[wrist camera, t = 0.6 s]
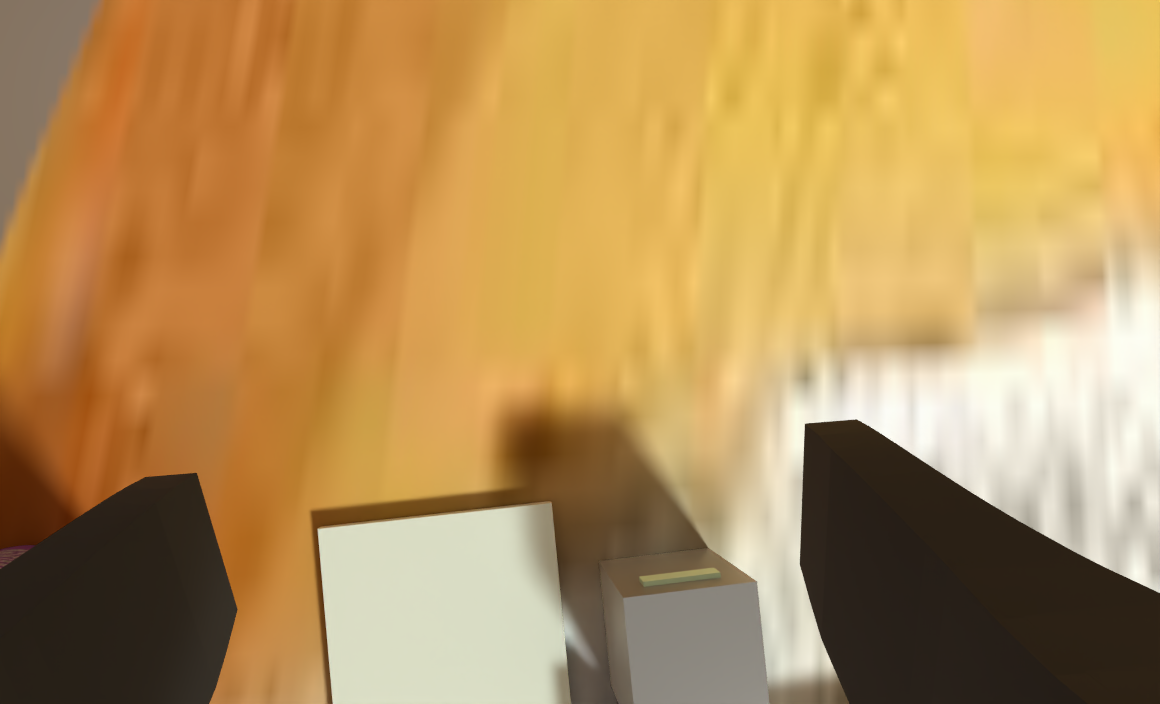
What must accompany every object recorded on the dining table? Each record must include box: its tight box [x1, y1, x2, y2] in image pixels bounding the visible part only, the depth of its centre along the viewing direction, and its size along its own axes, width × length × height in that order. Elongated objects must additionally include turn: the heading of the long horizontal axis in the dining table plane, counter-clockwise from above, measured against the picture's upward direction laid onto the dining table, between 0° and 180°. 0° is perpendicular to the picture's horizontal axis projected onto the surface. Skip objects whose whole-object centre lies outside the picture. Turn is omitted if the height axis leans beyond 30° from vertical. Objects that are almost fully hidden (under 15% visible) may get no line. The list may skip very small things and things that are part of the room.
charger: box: [599, 548, 770, 704], centre depth 29 cm, size 8×4×6 cm, turn 6°
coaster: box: [318, 501, 571, 704], centre depth 31 cm, size 8×8×1 cm
